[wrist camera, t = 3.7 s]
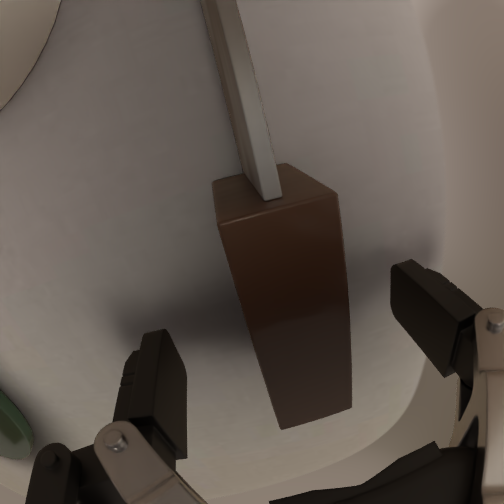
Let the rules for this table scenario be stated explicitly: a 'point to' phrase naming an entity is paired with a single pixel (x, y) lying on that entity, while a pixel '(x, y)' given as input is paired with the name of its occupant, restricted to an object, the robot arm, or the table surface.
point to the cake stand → (14, 431)
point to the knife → (281, 249)
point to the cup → (22, 40)
